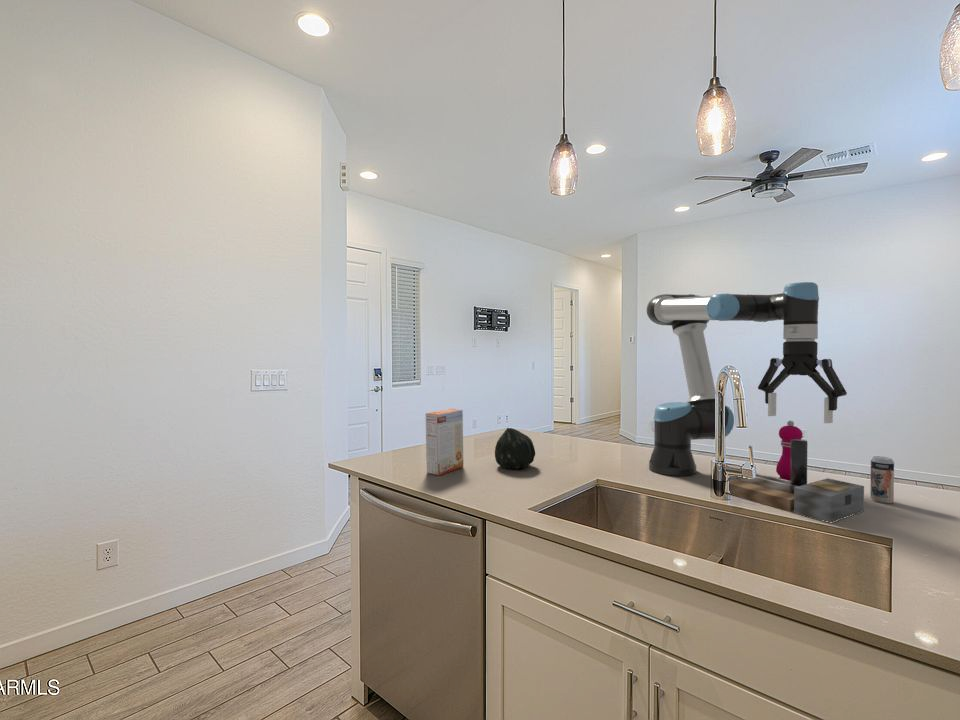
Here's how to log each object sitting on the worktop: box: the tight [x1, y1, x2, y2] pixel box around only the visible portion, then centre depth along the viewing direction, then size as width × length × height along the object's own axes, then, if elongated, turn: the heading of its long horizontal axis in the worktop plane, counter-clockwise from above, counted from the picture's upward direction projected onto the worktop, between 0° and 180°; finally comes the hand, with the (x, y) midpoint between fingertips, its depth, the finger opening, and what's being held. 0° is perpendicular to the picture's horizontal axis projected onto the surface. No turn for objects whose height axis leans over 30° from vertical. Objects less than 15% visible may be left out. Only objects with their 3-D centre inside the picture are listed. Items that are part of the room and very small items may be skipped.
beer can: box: [869, 455, 895, 505], centre depth 120 cm, size 5×5×12 cm
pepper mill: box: [775, 420, 804, 481], centre depth 135 cm, size 7×7×20 cm
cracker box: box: [425, 408, 464, 476], centre depth 154 cm, size 14×6×21 cm, turn 144°
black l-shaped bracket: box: [784, 439, 808, 492], centre depth 116 cm, size 12×4×14 cm, turn 28°
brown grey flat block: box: [728, 472, 865, 522], centre depth 121 cm, size 27×17×7 cm, turn 28°
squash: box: [494, 427, 536, 470], centre depth 158 cm, size 14×15×15 cm
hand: (798, 419), depth 119 cm, fingers open, 13 cm apart
